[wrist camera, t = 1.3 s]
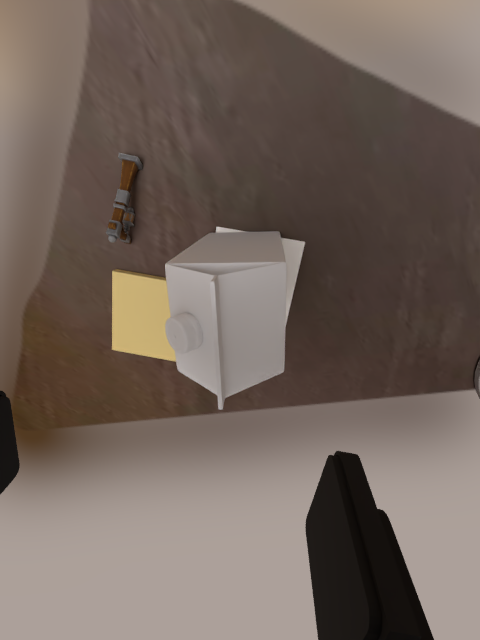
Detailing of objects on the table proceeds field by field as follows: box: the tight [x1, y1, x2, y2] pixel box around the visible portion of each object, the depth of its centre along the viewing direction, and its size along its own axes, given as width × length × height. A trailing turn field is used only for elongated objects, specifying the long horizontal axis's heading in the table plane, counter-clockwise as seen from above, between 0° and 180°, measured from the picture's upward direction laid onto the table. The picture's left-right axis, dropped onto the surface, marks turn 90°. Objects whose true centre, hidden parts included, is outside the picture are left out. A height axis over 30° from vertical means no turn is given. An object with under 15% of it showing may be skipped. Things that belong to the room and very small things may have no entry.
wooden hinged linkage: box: [106, 153, 143, 244], centre depth 31 cm, size 2×8×4 cm, turn 169°
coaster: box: [112, 269, 176, 361], centre depth 36 cm, size 10×10×1 cm
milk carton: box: [165, 231, 287, 409], centre depth 25 cm, size 7×7×19 cm
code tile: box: [216, 227, 305, 326], centre depth 35 cm, size 9×12×1 cm
